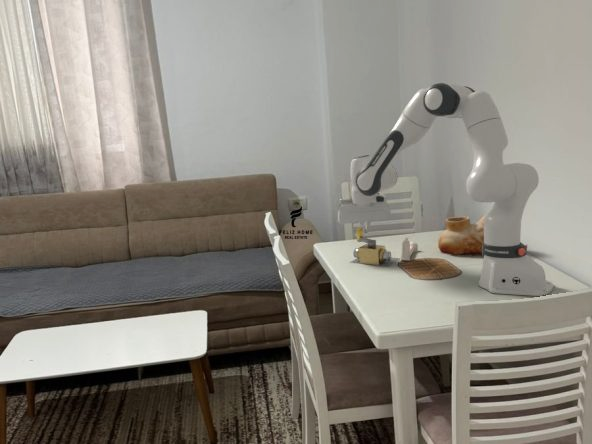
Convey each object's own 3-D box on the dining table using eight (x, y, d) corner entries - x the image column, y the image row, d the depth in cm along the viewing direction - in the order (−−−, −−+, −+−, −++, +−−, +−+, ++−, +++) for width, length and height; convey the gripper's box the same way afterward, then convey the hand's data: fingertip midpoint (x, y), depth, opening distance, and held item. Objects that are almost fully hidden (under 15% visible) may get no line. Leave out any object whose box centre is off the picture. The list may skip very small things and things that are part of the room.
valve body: (392, 261, 232) (392, 246, 231) (386, 266, 227) (385, 250, 226) (359, 258, 240) (358, 243, 238) (352, 262, 235) (351, 247, 233)
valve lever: (377, 246, 231) (377, 232, 230) (370, 247, 230) (370, 233, 229) (362, 241, 241) (361, 227, 240) (355, 242, 239) (354, 228, 238)
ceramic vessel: (510, 255, 233) (511, 216, 230) (439, 256, 237) (439, 218, 234) (504, 246, 246) (504, 209, 243) (436, 247, 250) (436, 211, 247)
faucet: (418, 263, 247) (419, 238, 248) (409, 260, 231) (411, 234, 232) (408, 262, 249) (409, 238, 250) (399, 259, 232) (400, 233, 233)
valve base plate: (401, 259, 236) (401, 258, 236) (388, 267, 226) (388, 266, 226) (363, 255, 245) (363, 254, 245) (349, 263, 235) (349, 262, 235)
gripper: (337, 201, 233) (339, 237, 236) (390, 197, 233) (392, 232, 236) (335, 198, 239) (337, 233, 242) (387, 194, 239) (389, 229, 242)
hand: (365, 233), depth 239 cm, fingers closed
